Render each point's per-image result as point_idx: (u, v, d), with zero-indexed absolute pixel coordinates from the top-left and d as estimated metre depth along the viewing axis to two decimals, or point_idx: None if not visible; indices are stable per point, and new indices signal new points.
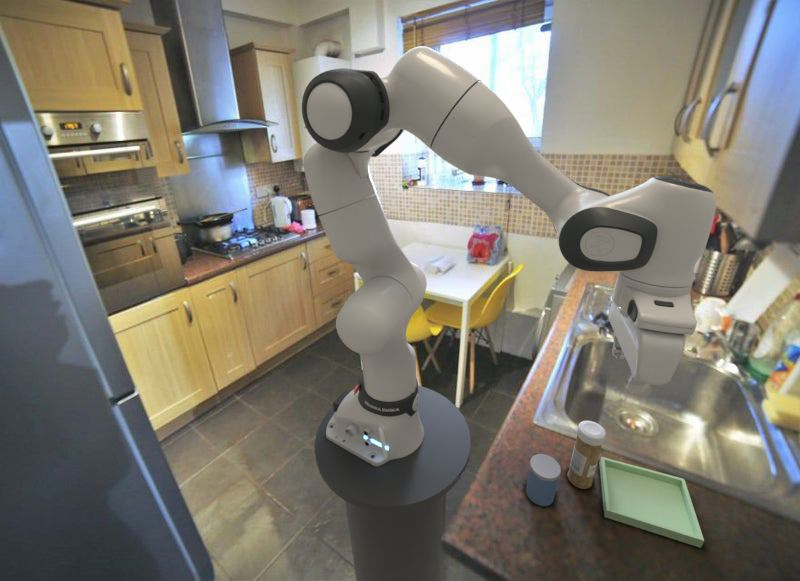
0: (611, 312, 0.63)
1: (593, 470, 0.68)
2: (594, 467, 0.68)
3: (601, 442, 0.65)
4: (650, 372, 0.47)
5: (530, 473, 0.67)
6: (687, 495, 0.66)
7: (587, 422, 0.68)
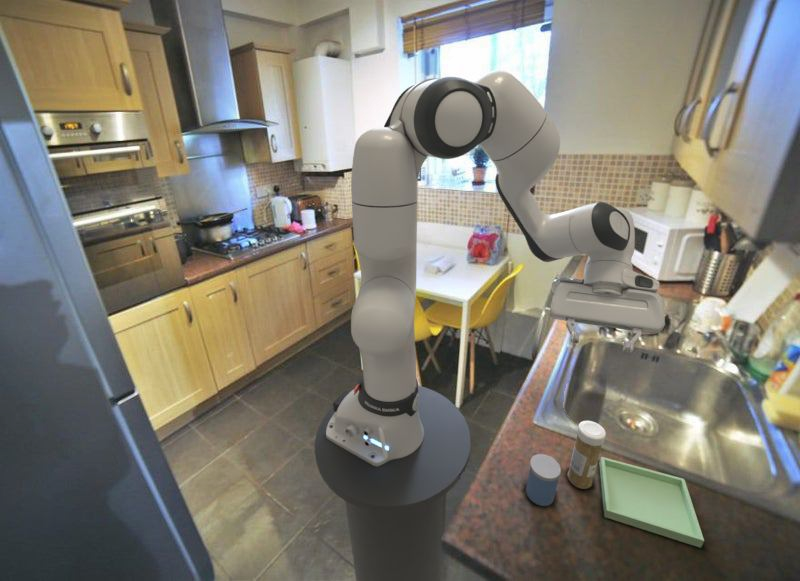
0: (561, 306, 0.75)
1: (593, 470, 0.68)
2: (594, 467, 0.68)
3: (601, 442, 0.65)
4: None
5: (530, 473, 0.67)
6: (687, 495, 0.66)
7: (587, 422, 0.68)
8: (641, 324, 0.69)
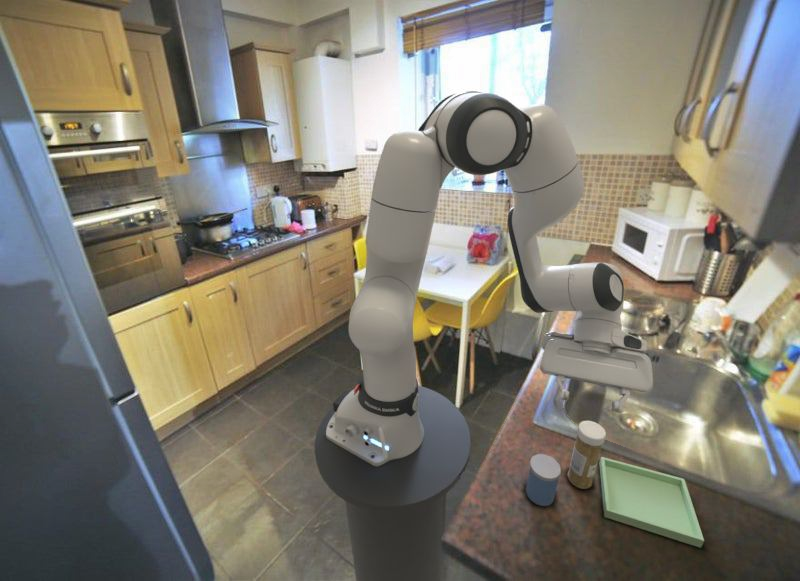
0: (551, 362, 0.76)
1: (593, 470, 0.68)
2: (594, 467, 0.68)
3: (601, 442, 0.65)
4: None
5: (530, 473, 0.67)
6: (687, 495, 0.66)
7: (587, 422, 0.68)
8: (630, 385, 0.70)
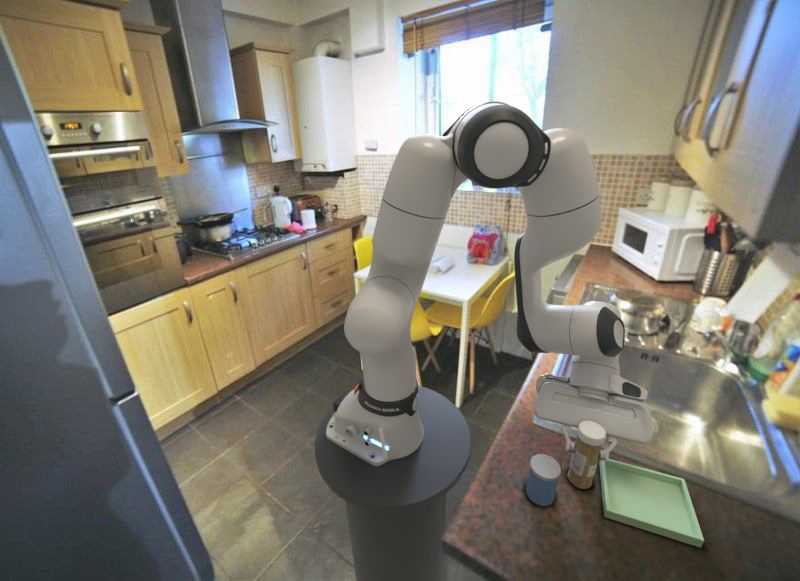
0: (546, 408, 0.72)
1: (593, 470, 0.68)
2: (594, 467, 0.68)
3: (601, 442, 0.65)
4: None
5: (530, 473, 0.67)
6: (687, 495, 0.66)
7: (587, 422, 0.68)
8: (628, 436, 0.66)
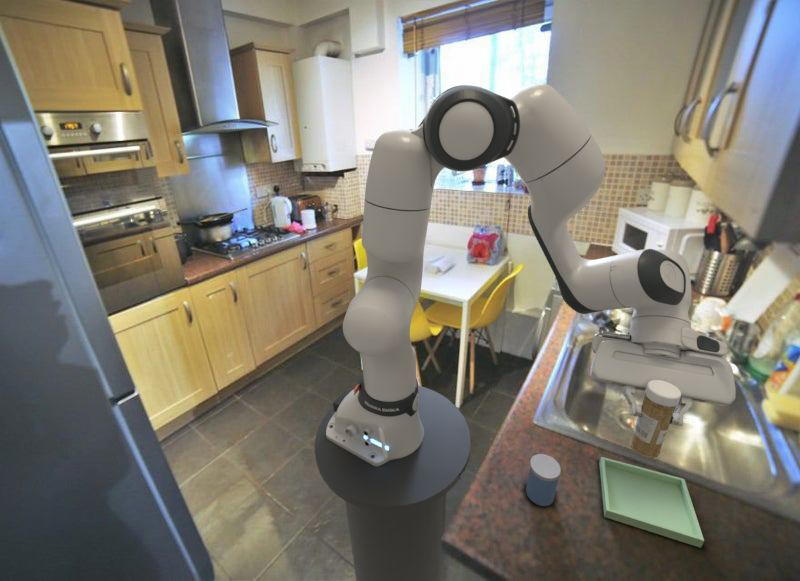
0: (606, 368, 0.63)
1: (663, 436, 0.60)
2: (665, 432, 0.60)
3: (676, 402, 0.57)
4: None
5: (530, 473, 0.67)
6: (687, 495, 0.66)
7: (657, 381, 0.60)
8: (706, 396, 0.58)
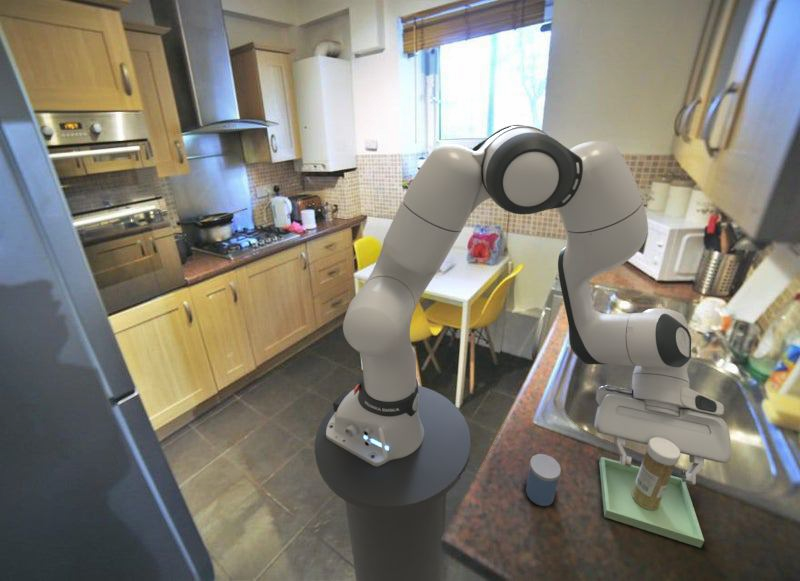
0: (609, 423, 0.67)
1: (664, 490, 0.64)
2: (665, 487, 0.63)
3: (676, 461, 0.61)
4: None
5: (530, 473, 0.67)
6: (687, 495, 0.66)
7: (658, 439, 0.63)
8: (704, 454, 0.62)
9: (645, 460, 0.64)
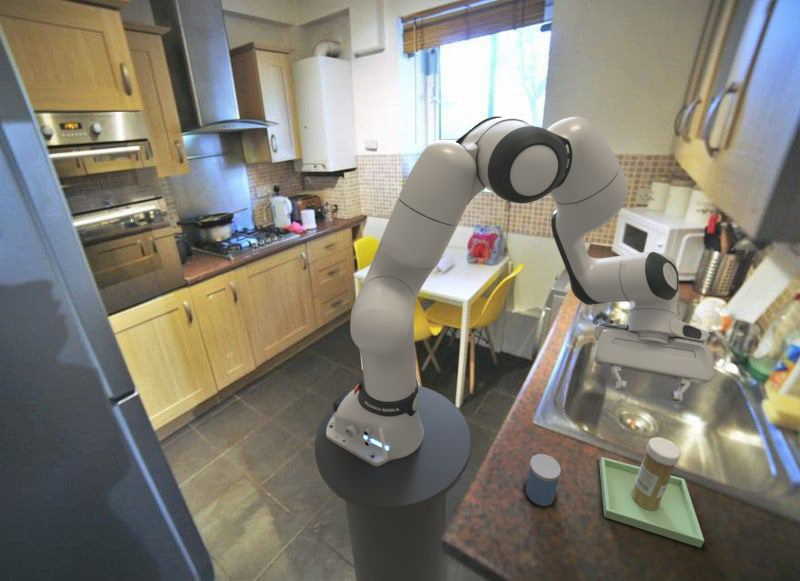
0: (607, 352, 0.75)
1: (663, 490, 0.64)
2: (665, 487, 0.63)
3: (676, 461, 0.61)
4: None
5: (530, 473, 0.67)
6: (687, 495, 0.66)
7: (657, 439, 0.63)
8: (690, 375, 0.70)
9: (645, 460, 0.64)
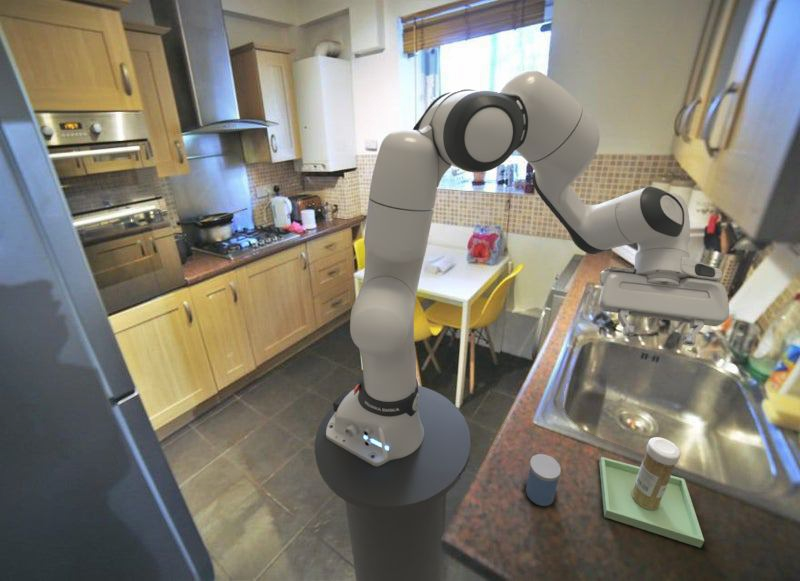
0: (613, 296, 0.70)
1: (663, 490, 0.64)
2: (665, 487, 0.63)
3: (676, 461, 0.61)
4: None
5: (530, 473, 0.67)
6: (687, 495, 0.66)
7: (657, 439, 0.63)
8: (703, 315, 0.65)
9: (645, 460, 0.64)
